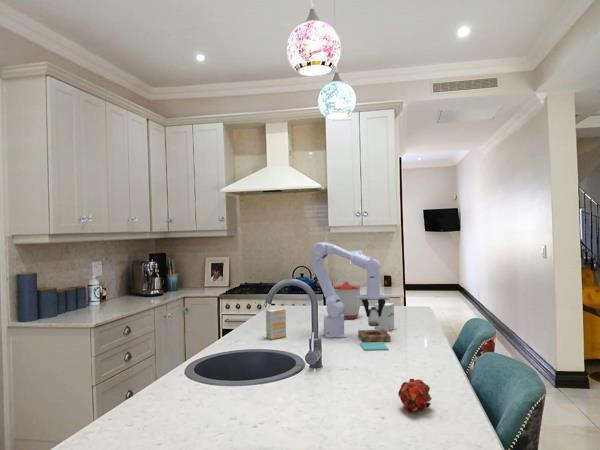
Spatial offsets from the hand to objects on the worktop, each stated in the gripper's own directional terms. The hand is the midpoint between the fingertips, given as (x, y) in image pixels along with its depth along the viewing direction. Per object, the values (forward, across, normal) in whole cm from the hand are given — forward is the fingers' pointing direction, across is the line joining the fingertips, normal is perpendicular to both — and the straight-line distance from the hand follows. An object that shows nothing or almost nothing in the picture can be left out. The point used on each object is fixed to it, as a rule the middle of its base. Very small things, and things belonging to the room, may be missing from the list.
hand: (373, 316), depth 193 cm
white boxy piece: (+10, +9, +17) cm, 22 cm away
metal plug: (+4, 0, 0) cm, 4 cm away
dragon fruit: (+10, -3, -74) cm, 75 cm away
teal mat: (+10, -3, -13) cm, 17 cm away
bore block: (+10, 0, 0) cm, 10 cm away
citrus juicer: (+10, -7, +46) cm, 47 cm away
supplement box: (+10, -44, +5) cm, 46 cm away
